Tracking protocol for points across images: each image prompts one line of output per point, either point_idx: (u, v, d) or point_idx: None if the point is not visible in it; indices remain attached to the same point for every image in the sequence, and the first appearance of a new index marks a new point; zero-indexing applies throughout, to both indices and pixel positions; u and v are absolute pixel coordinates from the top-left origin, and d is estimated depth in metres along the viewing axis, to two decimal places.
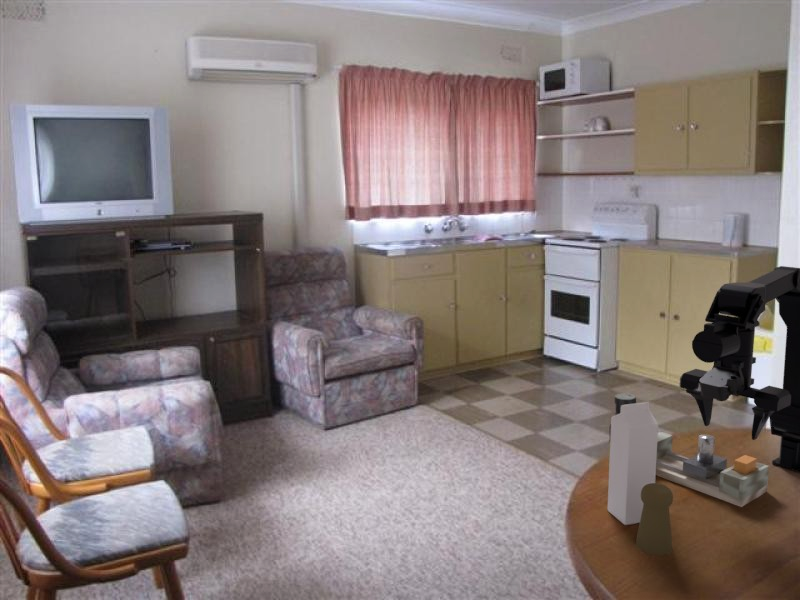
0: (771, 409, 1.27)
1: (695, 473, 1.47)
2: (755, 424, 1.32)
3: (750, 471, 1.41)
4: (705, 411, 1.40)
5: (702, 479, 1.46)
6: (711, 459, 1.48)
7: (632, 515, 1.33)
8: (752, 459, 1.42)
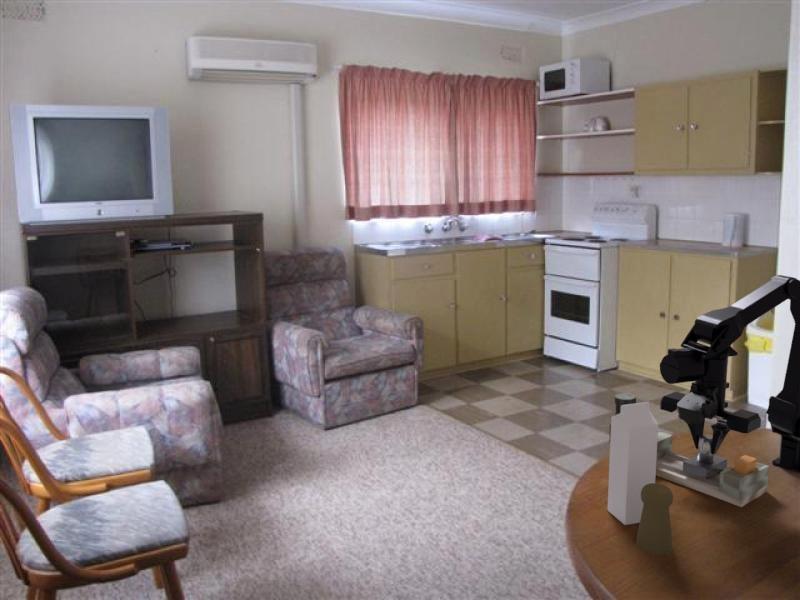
0: (742, 431, 1.39)
1: (695, 473, 1.47)
2: (714, 440, 1.46)
3: (750, 471, 1.41)
4: (696, 435, 1.49)
5: (702, 479, 1.46)
6: (711, 459, 1.48)
7: (632, 515, 1.33)
8: (752, 459, 1.42)
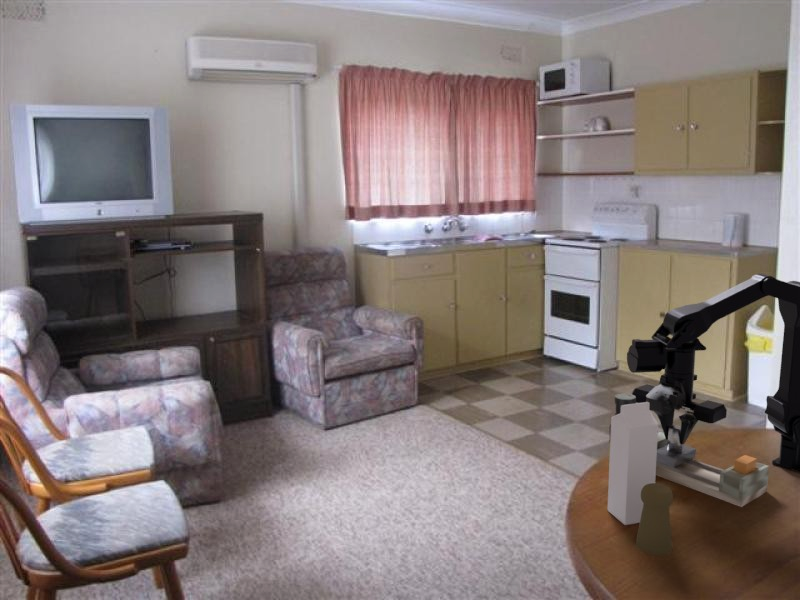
0: (708, 421, 1.44)
1: (665, 463, 1.52)
2: (682, 430, 1.51)
3: (750, 471, 1.41)
4: (666, 426, 1.54)
5: (702, 479, 1.46)
6: (680, 449, 1.53)
7: (632, 515, 1.33)
8: (752, 459, 1.42)
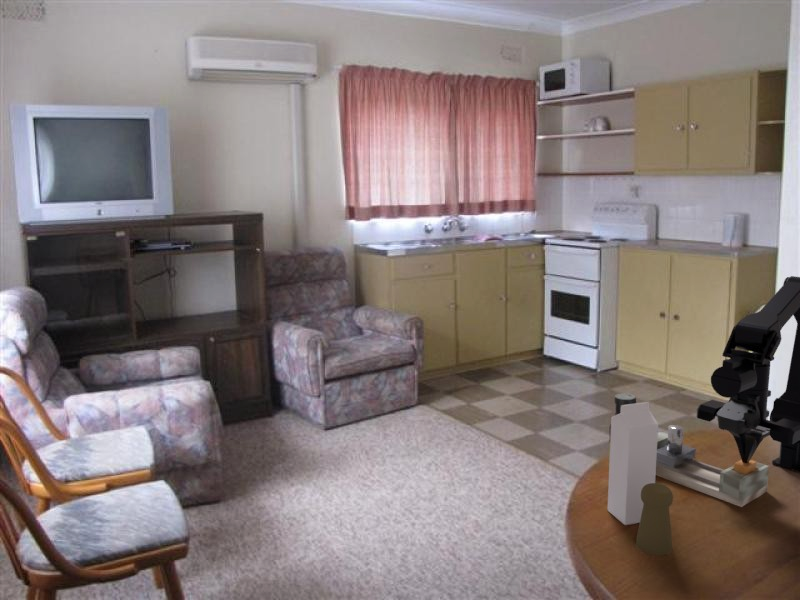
0: (786, 442, 1.32)
1: (664, 463, 1.52)
2: (747, 448, 1.40)
3: None
4: (743, 448, 1.41)
5: (702, 479, 1.46)
6: (680, 449, 1.53)
7: (632, 515, 1.33)
8: (751, 462, 1.42)
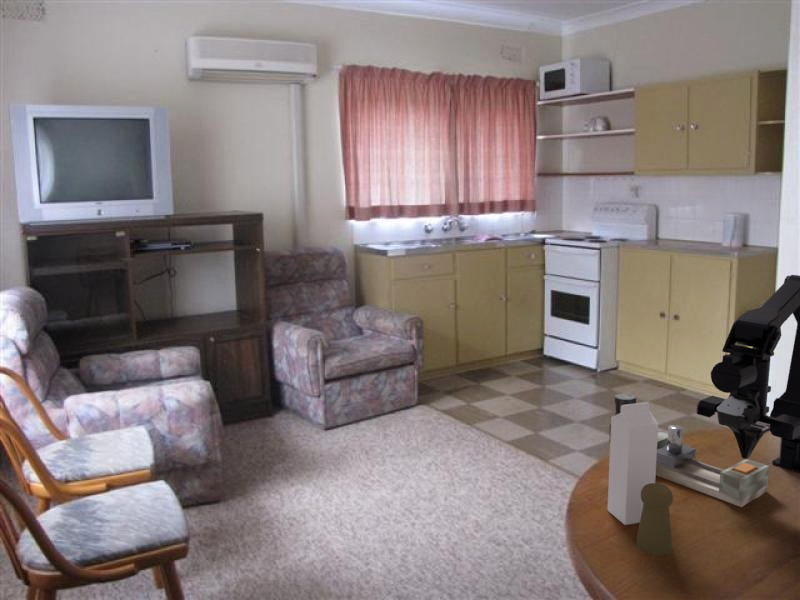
0: (786, 438, 1.32)
1: (664, 463, 1.52)
2: (747, 444, 1.40)
3: None
4: (743, 444, 1.41)
5: (702, 479, 1.46)
6: (680, 449, 1.53)
7: (632, 515, 1.33)
8: (751, 467, 1.42)
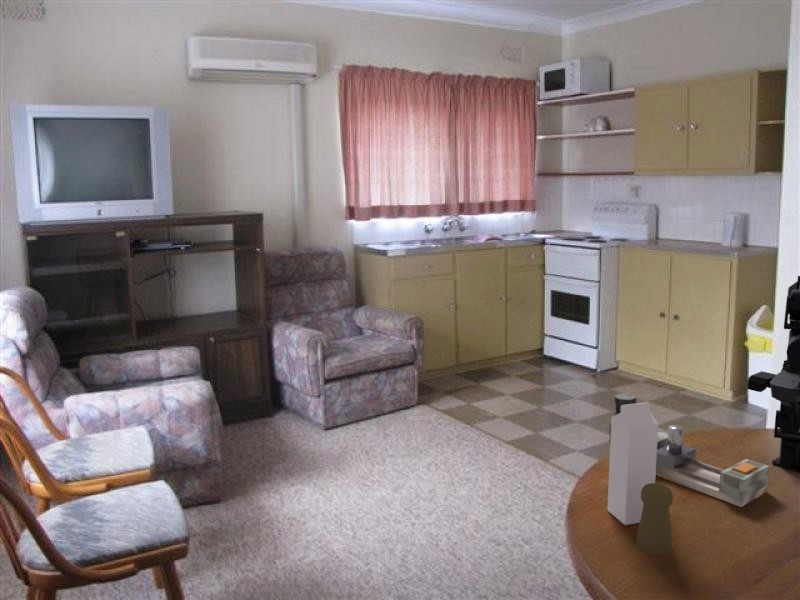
0: None
1: (664, 463, 1.52)
2: (799, 418, 1.42)
3: None
4: (794, 418, 1.43)
5: (702, 479, 1.46)
6: (680, 449, 1.53)
7: (632, 515, 1.33)
8: (751, 467, 1.42)
